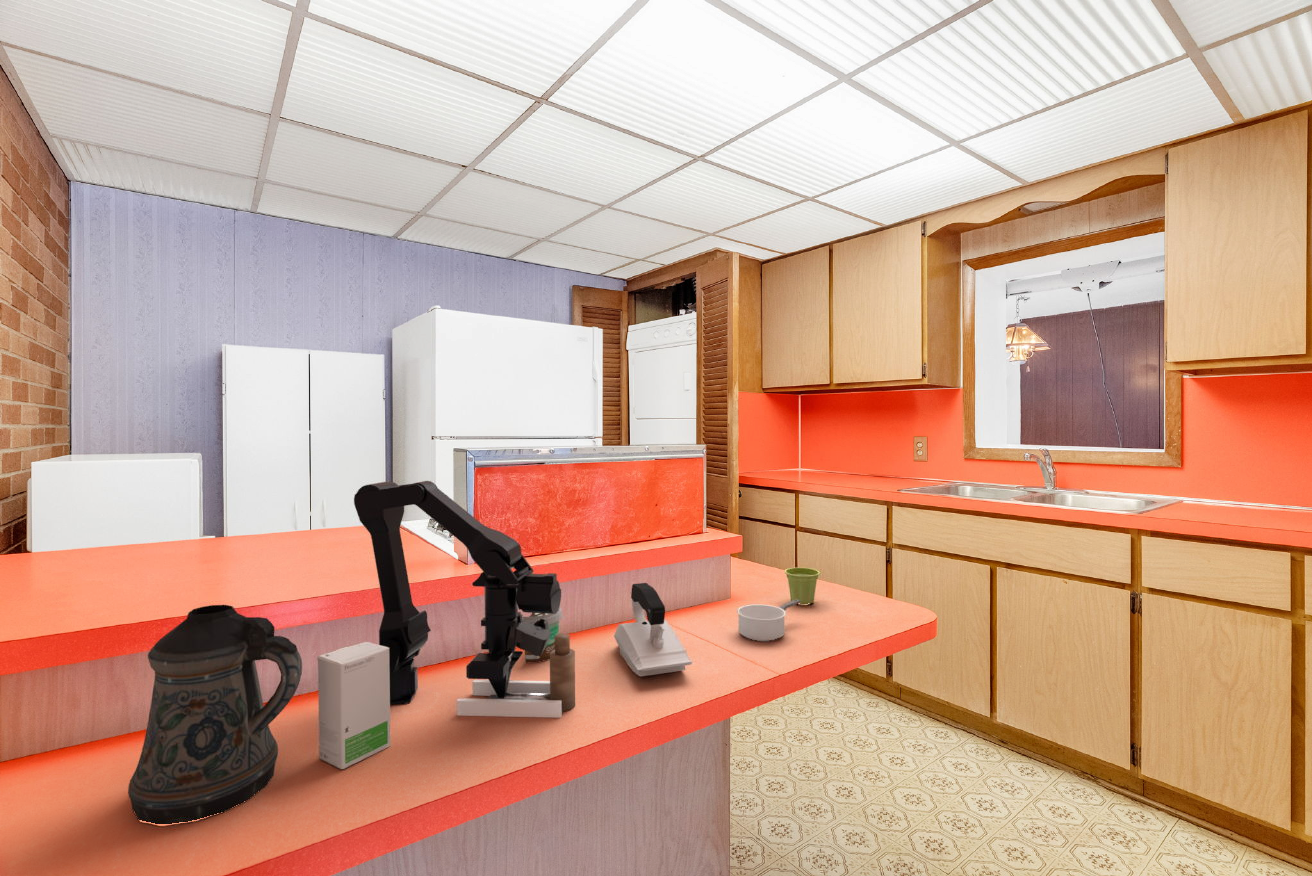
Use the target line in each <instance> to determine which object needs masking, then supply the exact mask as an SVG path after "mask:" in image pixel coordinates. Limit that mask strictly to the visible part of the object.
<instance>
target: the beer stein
mask: <svg viewBox="0 0 1312 876" xmlns="http://www.w3.org/2000/svg"><path fill="white" fill-rule="evenodd" d="M275 628H276V627H275V626H274V625H273V623H272V622H271V621H270V619H268V618H267V617H262V616H261V617H260V616H257V617H256V616H253V617H252V616H251V617H247V616H245V615H242V614H241V613H238V612H237V610H236V609H235V607H234V606H233V605H227V604H211V605H204V606H200V607H197V608H193V609H192V610H190V611H189V612H188V613H187V617H186V619H185V620H183V621H182V622H180V623H179V624H178V625H177V626H175V627H174V628H173V629H172V630H170V631H169V632H167V633H166V634H165V635H163V636H161V638H159V640H158V641H156V643H155V644H154V645H153V646H152V648H150V650H149V652H148V653H147V659H148V662H149V665H150V668H151V669H152V671H154V682H153V688H152V695H151V701H150V708H149V714H148V721H147V726H146V729H145V734H144V735H145V736H144V739H143V740H144V741H143V746H142V749H141V753H140V757H139V760H138V763H137V765H136V768H135V770H134V772H133V773H132V777H131V778H130V780H129V783H128V787H127V788H128V790H127V795H128V797H129V799H130V802H131V810H132V812H133V813H134V812H135V813H134V815H135V814H136V815H135V817H136V816H137V817H136V819H137V818H138V819H139V820H142V821H146V822H151V823H155V824H172V823H179V822H188V821H192V820H197V819H200V818H204V817H207V816H210V815H214V814H217V813H221V812H223V813H225V812H224V811H225V810H228V809H230V808H232V807H234V806H236V805H238V804H240V805H242V804H244V803H245V802H244V801H246V800H248V799H249V800H251V798H250V797H252V796H253V797H254V796H255V795H257V794H258V793H259V792H260V790H261V789H262V788H263V789H265V786H266V785H267V786H268V785H269V783H270V781H271V780H272V778H273V777H274V775H275V769H276V768H275V766H276V764H277V763H276V762H277V760H278V759H277V758H278V755H279V747H278V742H277V740H276V739H275V737H274V735H273V733H272V731H271V729H270V724H271V723H272V722H273V721H274V720H276V718H277V717H278V716H279V715H280V713H281V712H283V710H284V709H285V708H286V707H287V705H288V704H289V703H290V702H291V700H292V699H293V697H294V695H295V693H296V691H297V689H298V687H299V684H300V682H301V678H302V675H303V674H302V673H303V659H302V656H301V654H300V652H299V651H298V648H297V645H296V644H295V643H294V642H292V641H291V640H290V639H289V638H287V637H285V636H282V635H275ZM262 660H269V661H271V662H274V663H275V664H277V667H278V669H279V671H280V681H279V684H278V686H276V687H277V688H276V690H275V692H274V693H273V695H272V696H271V697H270V699H269V700H268V701H267V702H266V703H265V704H264V700H263V695H262V691H261V690H262V689H261V684H260V680H259V679H260V678H259V674H258V670H257V662H256V661H262ZM270 779H271V780H270ZM268 782H269V783H268ZM267 786H266V787H267ZM263 789H262V790H263ZM262 790H261V791H262ZM258 791H259V792H258ZM257 792H258V793H257ZM256 793H257V794H256ZM254 794H255V795H254ZM253 797H252V798H253ZM249 800H248V801H249ZM243 802H244V803H243ZM246 802H247V801H246ZM241 803H242V804H241ZM238 806H239V805H238ZM236 807H237V806H236ZM234 808H235V807H234ZM232 809H233V808H232ZM230 810H231V809H230ZM228 811H229V810H228ZM221 814H222V813H221ZM138 819H137V820H138Z"/></svg>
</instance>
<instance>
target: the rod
mask: <svg viewBox="0 0 1312 876" xmlns="http://www.w3.org/2000/svg"><path fill="white" fill-rule="evenodd" d="M505 699H514V700H550V693H506V694H505Z"/></svg>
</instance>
